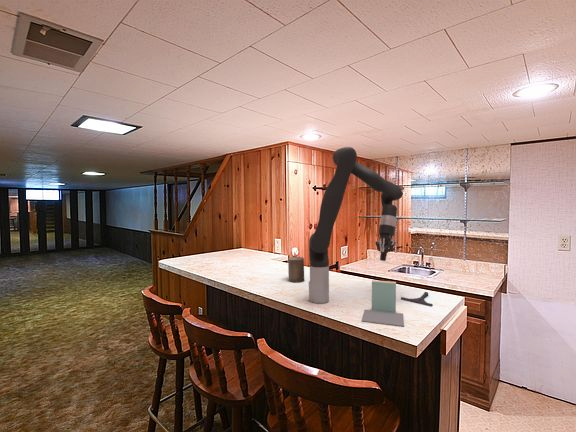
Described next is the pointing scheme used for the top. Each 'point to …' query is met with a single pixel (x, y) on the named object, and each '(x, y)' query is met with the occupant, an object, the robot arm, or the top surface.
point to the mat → (383, 318)
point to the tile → (384, 296)
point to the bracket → (419, 300)
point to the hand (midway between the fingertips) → (382, 260)
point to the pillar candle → (296, 269)
